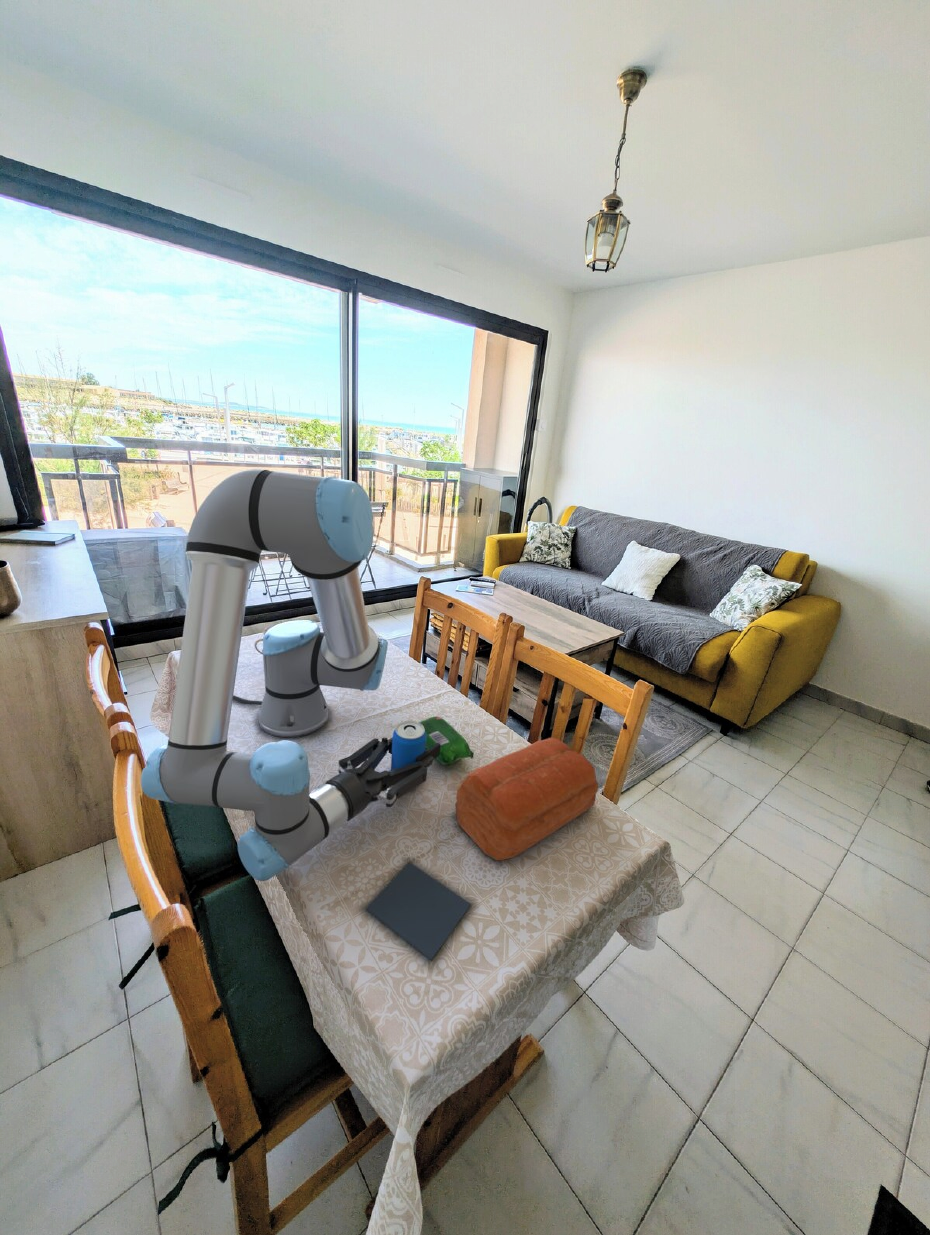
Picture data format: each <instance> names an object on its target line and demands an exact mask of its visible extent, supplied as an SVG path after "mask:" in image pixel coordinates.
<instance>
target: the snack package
mask: <svg viewBox="0 0 930 1235" xmlns="http://www.w3.org/2000/svg"><path fill="white" fill-rule="evenodd" d="M418 723H420V724H421V725H423V727H424V729H425V732H426V746H425V749H426V751H427V750H428V749H429V748H431V747H432V746H434V745H435V744H436V743H439V744H441V746H440V755H439V756H438V757H436V758H435V759H436V760H437V761H438V762H439V763H441V764H442V765H445V766H446V765H448V764H449V765H452V764H454V763H455V762H457V761H459V760H461V759H467V758H471V759H474V754H475V753H474V751H472V750H471V748H470V746H469V743H468V742H467V740H466V739H465V738H464V736H462V735H461V734H460V733H459V731H457V730H456V729H455V728H454V727H453V726H452V725H451V724H450V723H449V722H448V721H447V720H446V719H444V718H443V717H441V716H432V717H429V718H426V719H424V720H421V721H419V722H418Z"/></svg>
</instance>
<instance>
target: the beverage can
mask: <svg viewBox="0 0 930 1235" xmlns="http://www.w3.org/2000/svg"><path fill="white" fill-rule="evenodd" d="M392 737H393V741H392V754H391V758H390V761H391V762H390V771H392V770H395V769H397V768H400V767H403V766H406V765H409V764H412V763H415V762H416V758H417V757H418V756H420V755H421V754H422V753H424V752H425V751H426V747H425V746H426V732H425V729H424V727H423V725H421V724H420V723H419V722H418V721H414V720H405V721H402V722H399V723H398V724H397V725H396V726H395V728H394V731H393V732H392Z"/></svg>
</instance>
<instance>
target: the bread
mask: <svg viewBox="0 0 930 1235" xmlns="http://www.w3.org/2000/svg"><path fill="white" fill-rule="evenodd" d="M598 790H599V782H598V780H597V775H596V770H595V766H594V765H593V764H592V763H591V762H589V760H588V759H587V758H586V757H585V756H584V755H582V754H580V753H578V752H576V751H574V750H572V749H571V748H570V746H568V745H567V744H566V743H564V742H563V741H562V740H560V739H559V738H555V737H548V738H545V739H541V740H537V741H535V742H533V743H531V744H529V745H527V746H525V747H523V748H521V749H519V750H517V751H514V752H511V753H509V754H506V755H503V756H501V757H499V758H497V759H496V760H494V761H492V762H491V763H489V764H488V763H487V764H486V765H482V766H480V767H478V768H475V769H473V771H471V772H469V773H468V774H467V775H466V777H465V779H464V780H462V781H460V784H459V786H458V788H457V790H456V801H455V804H454V807H455V812H456V818H457V823H458V824H457V825H459V826H460V827H461V829H462V830H463V831H464V832H465V833H466V834H467V835H468V836H469V837H470V839H471V840H472V841H473V842H474V843H475V844H476V845H477V847H478V848H480V850H482V852H483V853H484V854H485V855H487V856H488V857H490V858H492V859H494V860H496V861H497V862H498V861H503V860H508V859H512V858H515V857H517V856H518V855H520V854H522V853H523V852H525V851H526V850H528V849H530V848H531V847H533V846H535V845H536V844H538V843H539V842H541V841H542V840H544V839H545V838H547V837H548V836H550V835H552V834H553V833H555V832H557V831H558V830H559V829H561V828H563V827H564V826H565V825H567V824H568V823H570V822H572V821H573V820H575V819H577V817H579V816H581V815H582V814H583V813H585V812H587V811H588V810H589V809H591V808H592V806H593V805H594V804H595V802H596V799H597V798H596V795H597V793H599V792H598Z"/></svg>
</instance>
